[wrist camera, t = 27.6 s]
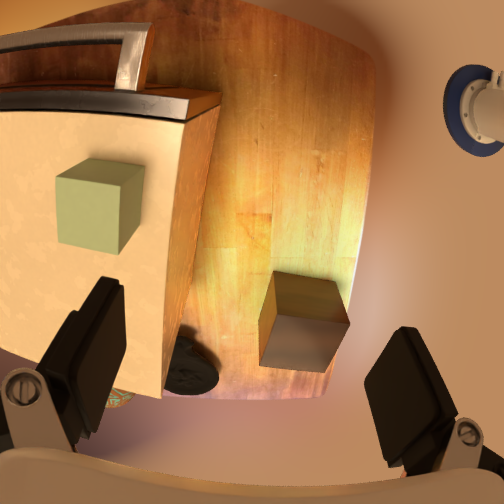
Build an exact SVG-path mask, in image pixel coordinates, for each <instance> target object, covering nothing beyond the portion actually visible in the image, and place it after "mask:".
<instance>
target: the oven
mask: <svg viewBox="0 0 504 504" xmlns="http://www.w3.org/2000/svg"><path fill="white" fill-rule="evenodd" d="M220 106H221V105H216V106H214V107H212V108H210V109H207V110H205V111H203V112H201V113H199V114H197V115H195V116H193V117H191V118H189V119H187V120H179V119H172V118H164V117H156V116H147V115H138V114H128V113H117V112H104V111H89V110H68V109H0V348H2V349H5V350H7V351H9V352H12V353H14V354H17V355H19V356H22V357H24V358H26V359H29V360H31V361H34V362H37V363H39V362H40V360H41V359H42V357H43V355H44V354H45V352H46V350H47V348H48V347H49V345H50V343H51V342H52V340H53V338H54V337H55V335H56V334H57V332H58V330H59V329H60V327H61V325H62V324H63V322H64V321H65V319H66V318H67V316H68V314H69V313H70V312H71V311H72V310H76V311H79V309H80V308H81V306H82V304H83V303H84V301H85V300H86V298H87V297H88V295H89V293H90V292H91V290H92V289H93V287H94V286H95V284H96V283H97V281H98V280H99V278H100V277H101V276H106V277H110V278H114V279H118V280H119V283H120V284H121V285H124V296H125V322H126V339H127V347H126V352H125V355H124V358H123V360H122V363H121V365H120V368H119V371H118V373H117V376H116V379H115V381H114V384H113V387H114V388H117V389H121V390H125V391H129V392H133V393H138V394H142V395H146V396H150V397H154V398H160V399H161V398H162V393H163V389H164V385H165V381H166V377H167V373H168V369H169V365H170V361H171V357H172V353H173V349H174V345H175V341H176V337H177V333H178V330H179V326H180V322H181V318H182V315H183V311H184V307H185V304H186V300H187V296H188V293H189V289H190V286H191V280H192V273H193V265H194V258H195V251H196V244H197V237H198V230H199V224H200V217H201V211H202V205H203V199H204V193H205V187H206V181H207V175H208V169H209V164H210V158H211V152H212V147H213V142H214V136H215V131H216V126H217V121H218V116H219V111H220ZM88 158H90V159H98V160H105V161H113V162H120V163H127V164H134V165H141V166H145V171H144V180H143V191H142V203H141V216H140V226H139V227H138V228H137V230H136V231H135V233H134V234H133V235H132V237H131V238H130V240H129V241H128V242H127V244H126V245H125V247H124V248H123V250H122V251H121V252H120V254H119V255H113V254H109V253H104V252H99V251H95V250H90V249H85V248H81V247H76V246H72V245H67V244H63V243H59V242H58V233H57V217H56V188H55V177H56V176H57V175H59V174H61V173H62V172H64V171H66V170H68V169H69V168H71V167H73V166H75V165H77V164H78V163H80V162H82V161H84V160H86V159H88Z"/></svg>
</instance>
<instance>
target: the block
mask: <svg viewBox="0 0 504 504" xmlns="http://www.w3.org/2000/svg"><path fill="white" fill-rule="evenodd" d="M144 171H145V166H141V165H134V164H127V163H120V162H113V161H105V160H98V159H90V158H88V159H86V160H84V161H82V162H80V163H78V164H77V165H75V166H73V167H71V168H69V169H68V170H66V171H64V172H62V173H61V174H59V175H57V176H56V177H55V188H56V217H57V233H58V242H59V243H63V244H67V245H72V246H76V247H81V248H85V249H90V250H95V251H99V252H104V253H109V254H113V255H119V254H120V252H121V251H122V250H123V248H124V247H125V245H126V244H127V242H128V241H129V240H130V238H131V237H132V235H133V234H134V233H135V231H136V230H137V228H138V227H139V226H140V216H141V203H142V191H143V180H144Z"/></svg>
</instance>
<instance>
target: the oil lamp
mask: <svg viewBox="0 0 504 504" xmlns="http://www.w3.org/2000/svg"><path fill="white" fill-rule="evenodd" d="M193 345H195V344H194V342H193V341H192V340H191V339H189V338H187V337H185V336H177V337H176V341H175V345H174V349H173V353H172V357H171V361H170V365H169V369H168V373H167V377H166V381H165V385H164V389H165V390H168V391H170V392H172V393H175V394H179V395H199V394H204V393H206V392H208V391H210V390H211V389H213V388H214V387H215V386H216V385H217V383H218V381H219V374H218V371H217V370H216V368H215V367H214V366H213V364H212V363H211V362H209V361H208V360H207V359H205V358H204V357H202V356H200V355H199V354H197V353H196V352H195V351H194V350H193V349H192V346H193Z"/></svg>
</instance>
